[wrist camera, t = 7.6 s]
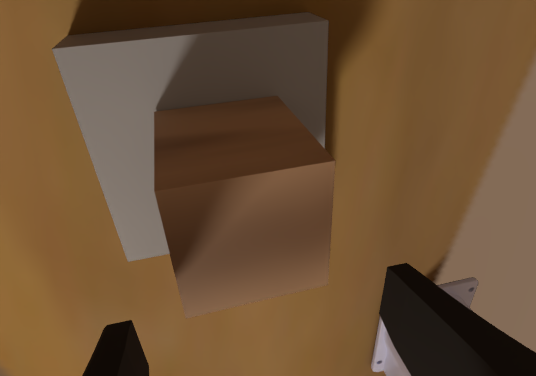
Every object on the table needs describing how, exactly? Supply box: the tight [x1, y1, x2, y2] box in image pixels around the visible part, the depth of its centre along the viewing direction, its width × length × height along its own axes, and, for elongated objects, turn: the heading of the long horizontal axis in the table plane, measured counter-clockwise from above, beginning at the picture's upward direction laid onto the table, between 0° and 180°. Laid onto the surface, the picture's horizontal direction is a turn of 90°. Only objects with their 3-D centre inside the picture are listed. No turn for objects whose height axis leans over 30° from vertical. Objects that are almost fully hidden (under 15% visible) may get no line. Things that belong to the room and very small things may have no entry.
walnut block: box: [154, 96, 335, 318], centre depth 14 cm, size 5×5×6 cm
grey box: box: [52, 12, 329, 262], centre depth 18 cm, size 10×10×3 cm
